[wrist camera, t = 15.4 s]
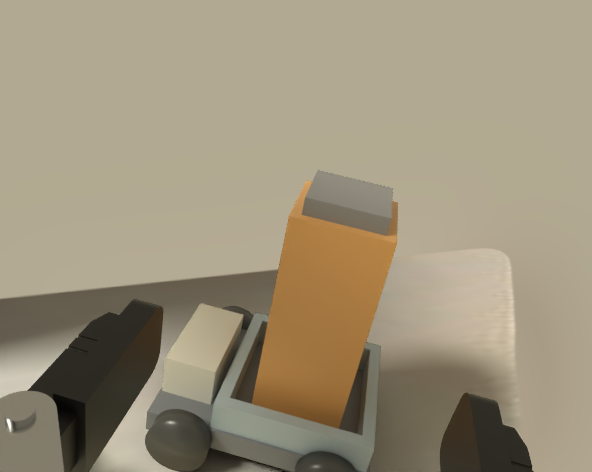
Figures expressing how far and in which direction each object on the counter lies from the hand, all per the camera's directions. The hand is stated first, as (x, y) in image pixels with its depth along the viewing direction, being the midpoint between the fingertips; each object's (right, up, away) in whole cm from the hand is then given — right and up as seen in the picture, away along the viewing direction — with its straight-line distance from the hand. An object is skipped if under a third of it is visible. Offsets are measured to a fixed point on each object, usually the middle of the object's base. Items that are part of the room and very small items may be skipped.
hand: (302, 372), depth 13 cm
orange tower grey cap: (0, -5, +15) cm, 15 cm away
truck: (-2, -7, +16) cm, 17 cm away
